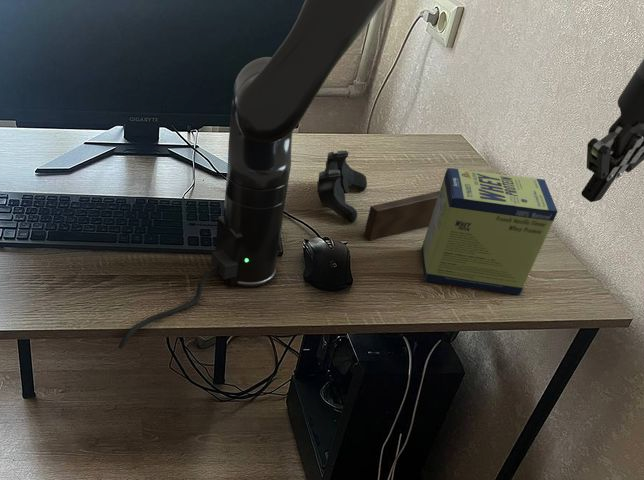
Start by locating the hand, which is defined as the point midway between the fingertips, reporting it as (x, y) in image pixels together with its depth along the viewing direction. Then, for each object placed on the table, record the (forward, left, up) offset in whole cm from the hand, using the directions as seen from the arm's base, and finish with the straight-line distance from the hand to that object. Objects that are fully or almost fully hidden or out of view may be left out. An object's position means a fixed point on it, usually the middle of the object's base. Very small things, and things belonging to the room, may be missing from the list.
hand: (589, 197), depth 95 cm
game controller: (-9, +41, -20) cm, 47 cm away
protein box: (-2, +13, -20) cm, 24 cm away
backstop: (-2, +28, -20) cm, 35 cm away
